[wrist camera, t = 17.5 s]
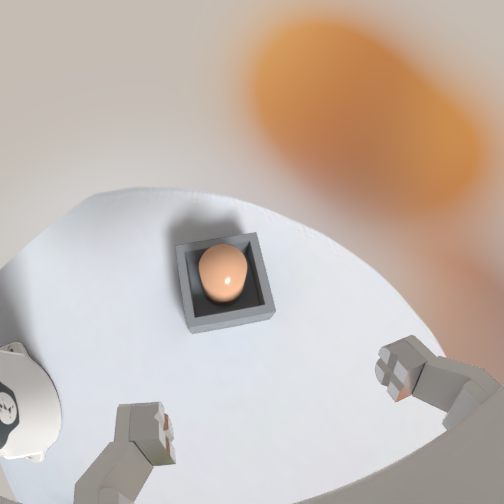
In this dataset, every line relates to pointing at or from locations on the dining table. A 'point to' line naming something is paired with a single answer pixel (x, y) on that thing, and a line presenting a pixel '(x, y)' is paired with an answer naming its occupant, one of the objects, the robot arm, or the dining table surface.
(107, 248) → the dining table surface
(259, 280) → the gray open box
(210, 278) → the canister
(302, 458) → the dining table surface
